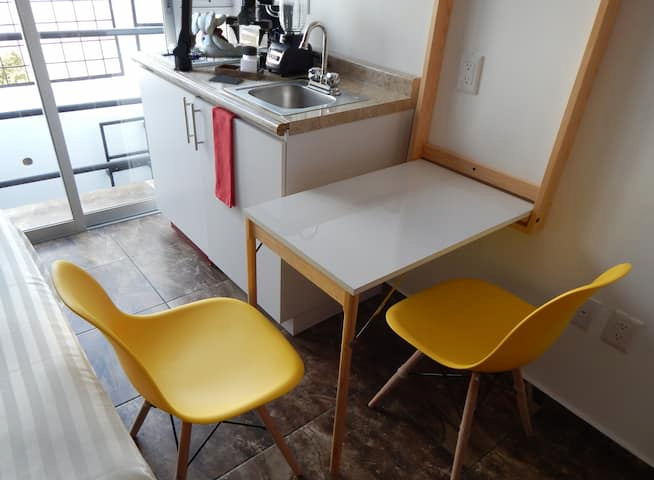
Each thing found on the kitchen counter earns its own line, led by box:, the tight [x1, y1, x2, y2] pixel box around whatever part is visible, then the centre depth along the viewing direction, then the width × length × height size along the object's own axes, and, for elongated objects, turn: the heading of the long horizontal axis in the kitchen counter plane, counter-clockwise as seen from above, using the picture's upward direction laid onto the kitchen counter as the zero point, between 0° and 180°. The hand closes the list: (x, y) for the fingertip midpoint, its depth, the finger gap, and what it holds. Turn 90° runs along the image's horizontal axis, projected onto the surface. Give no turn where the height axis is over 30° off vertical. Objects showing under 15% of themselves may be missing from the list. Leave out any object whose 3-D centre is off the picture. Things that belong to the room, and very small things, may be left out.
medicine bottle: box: [240, 45, 260, 73], centre depth 210 cm, size 7×7×12 cm
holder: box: [214, 63, 265, 81], centre depth 213 cm, size 19×10×3 cm, turn 78°
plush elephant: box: [191, 10, 245, 58], centre depth 239 cm, size 27×22×21 cm
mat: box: [208, 75, 244, 85], centre depth 205 cm, size 12×9×1 cm
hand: (248, 44), depth 205 cm, fingers open, 9 cm apart
